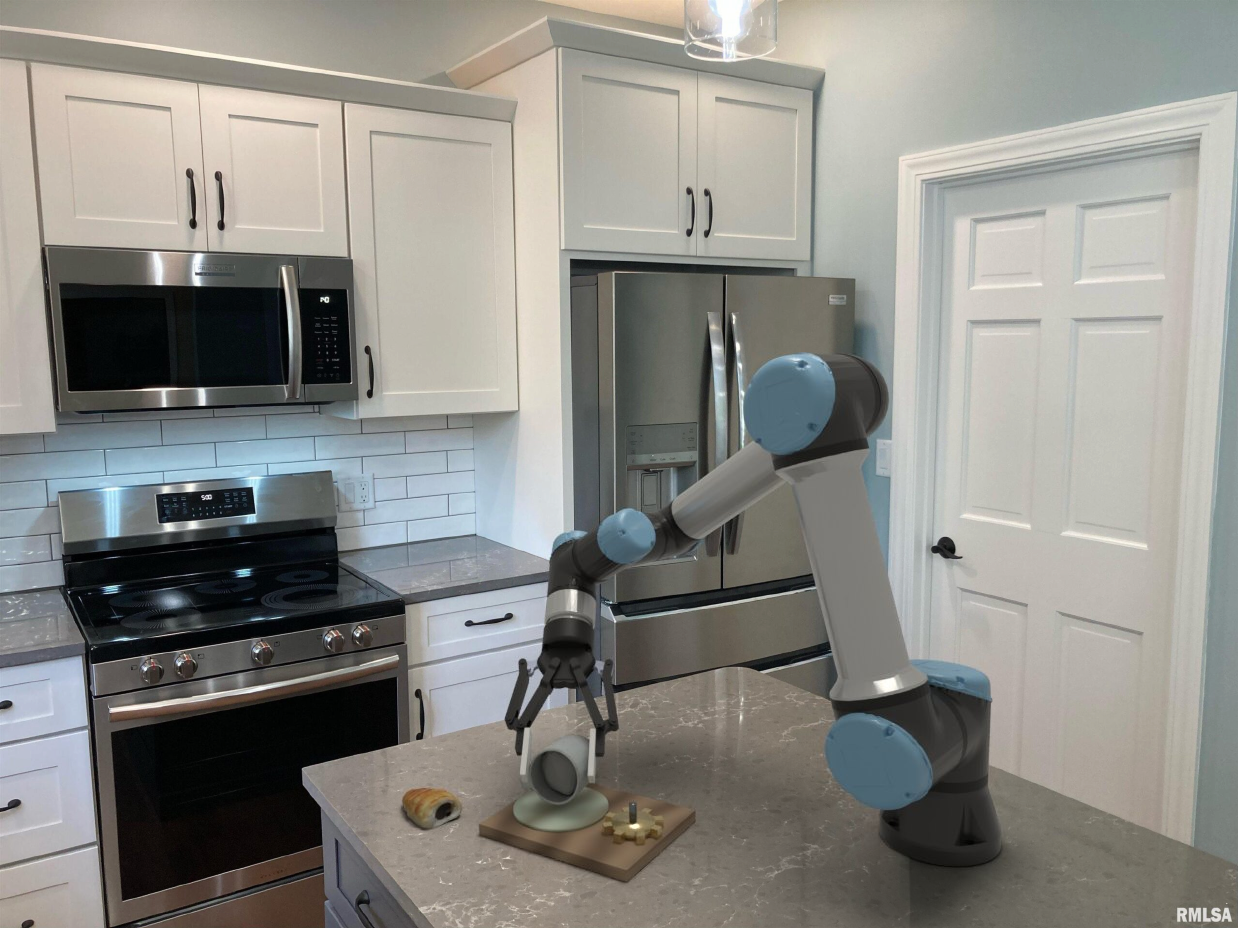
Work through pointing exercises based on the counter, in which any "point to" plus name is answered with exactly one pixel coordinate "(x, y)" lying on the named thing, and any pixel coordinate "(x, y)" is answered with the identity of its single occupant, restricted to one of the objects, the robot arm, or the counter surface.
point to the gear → (633, 825)
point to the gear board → (585, 829)
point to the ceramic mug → (560, 770)
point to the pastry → (431, 806)
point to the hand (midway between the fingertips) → (557, 778)
